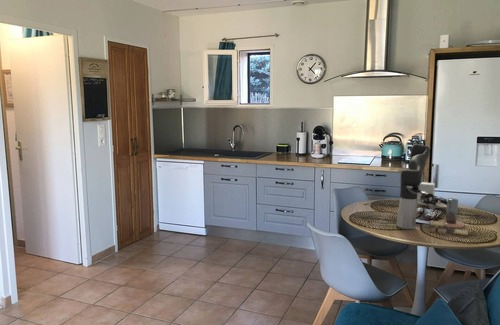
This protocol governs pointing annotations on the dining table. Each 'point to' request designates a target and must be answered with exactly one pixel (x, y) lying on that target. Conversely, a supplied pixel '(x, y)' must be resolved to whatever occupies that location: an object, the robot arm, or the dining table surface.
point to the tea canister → (451, 210)
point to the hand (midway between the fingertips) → (441, 203)
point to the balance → (449, 231)
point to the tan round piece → (457, 225)
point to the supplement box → (427, 189)
